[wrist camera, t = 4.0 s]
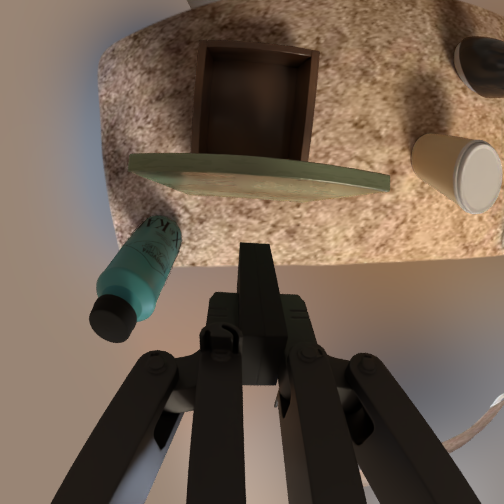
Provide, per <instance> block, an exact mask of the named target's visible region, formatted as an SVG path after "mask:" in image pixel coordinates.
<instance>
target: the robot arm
mask: <svg viewBox="0 0 504 504" xmlns="http://www.w3.org/2000/svg"><path fill="white" fill-rule="evenodd" d="M199 336H200V349H199V350H198V351H197V352H196V353H194V354H192V355H189V356H185V357H179V358H174V357H173V356H172V355H171V354H169V353H168V352H166V351H160V350H155V351H149V352H147V353H145V354H143V355H142V356H141V357H140V358H139V359H138V361H137V362H136V364H135V366H134V367H133V368H132V370H131V372H130V373H129V374H128V376H127V378H126V379H125V381H124V382H123V384H122V385H121V387H120V388H119V390H118V392H117V393H116V395H115V397H114V398H113V399H112V401H111V402H110V404H109V406H108V407H107V409H106V410H105V412H104V414H103V415H102V417H101V418H100V420H99V422H98V423H97V425H96V427H95V428H94V430H93V432H92V433H91V435H90V436H89V438H88V440H87V441H86V443H85V445H84V446H83V448H82V450H81V451H80V453H79V455H78V456H77V458H76V460H75V461H74V463H73V465H72V467H71V468H70V470H69V472H68V474H67V475H66V477H65V479H64V481H63V483H62V484H61V486H60V488H59V489H58V491H57V493H56V495H55V497H54V499H53V500H52V502H51V504H144V503H145V500H146V498H147V496H148V494H149V491H150V489H151V487H152V485H153V482H154V480H155V478H156V476H157V473H158V471H159V469H160V466H161V464H162V462H163V460H164V457H165V455H166V453H167V451H168V449H169V446H170V444H171V442H172V439H173V437H174V435H175V433H176V430H177V428H178V426H179V423H180V421H181V419H182V417H183V414H184V412H188V411H193V410H194V413H193V423H192V434H191V445H190V457H189V469H188V484H187V499H186V504H246V489H245V461H244V430H243V392H242V385H276V383H277V380H278V383H279V390H278V394H277V397H276V401H275V405H274V407H277V406H278V409H279V418H280V427H281V436H282V445H283V453H284V463H285V472H286V481H287V490H288V501H289V504H367V502H366V498H365V493H364V489H363V484H362V480H361V476H360V472H359V468H358V465H359V466H360V468H361V470H362V472H363V474H364V476H365V477H366V479H367V481H368V483H369V485H370V486H371V488H372V490H373V491H374V493H375V495H376V497H377V499H378V501H379V502H380V504H481V502H480V501H479V499H478V498H477V496H476V495H475V493H474V491H473V490H472V488H471V487H470V485H469V484H468V482H467V480H466V479H465V477H464V476H463V474H462V473H461V471H460V470H459V468H458V467H457V466H456V464H455V462H454V461H453V459H452V458H451V456H450V455H449V453H448V452H447V450H446V449H445V448H444V446H443V445H442V443H441V442H440V440H439V439H438V438H437V436H436V435H435V433H434V432H433V430H432V429H431V428H430V426H429V425H428V424H427V422H426V421H425V419H424V418H423V416H422V415H421V414H420V412H419V411H418V409H417V408H416V407H415V405H414V404H413V403H412V401H411V400H410V399H409V397H408V396H407V394H406V393H405V392H404V390H403V389H402V388H401V386H400V385H399V384H398V382H397V381H396V380H395V378H394V377H393V376H392V375H391V373H390V372H389V370H388V369H387V368H386V367H385V365H384V364H383V363H382V361H381V360H380V359H379V358H377V357H376V356H374V355H372V354H368V353H358V354H356V355H354V356H353V357H352V358H351V360H350V361H348V360H343V359H338V358H334V357H331V356H329V355H327V354H326V352H325V350H324V349H323V348H322V347H321V346H320V345H318V344H317V341H316V338H315V334H314V331H313V328H312V325H311V321H310V319H309V315H308V312H307V308H306V305H305V302H304V301H303V300H302V299H301V298H300V296H299V295H293V294H292V295H291V294H280V292H279V287H278V283H277V278H276V273H275V268H274V263H273V258H272V254H271V249H270V244H259V243H242V242H240V251H239V265H238V281H237V293H226V292H215V293H214V295H213V296H212V297H211V298H210V300H209V309H208V316H207V323H206V326H205V327H204V328H203V329H202V330H201V332H200V335H199ZM357 463H358V464H357Z"/></svg>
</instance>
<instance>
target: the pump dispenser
mask: <svg viewBox="0 0 504 504" xmlns="http://www.w3.org/2000/svg"><path fill="white" fill-rule="evenodd" d="M454 63H455V67H456V70H457V73H458V75H459V77H460V78H461V80H462V81H463V82H464V84H465V85H466V86H467V87H468V88H470V89H471V90H472V91H474V92H476V93H477V94H479V95H480V96H482V97H485V98H504V41H501V40H498V39H494V38H490V37H481V36H471V37H466V38H464V39H463V40H462V42H460V43H459V44H458V46H457V47H456V49H455V53H454Z"/></svg>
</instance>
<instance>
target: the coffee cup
mask: <svg viewBox="0 0 504 504" xmlns="http://www.w3.org/2000/svg"><path fill="white" fill-rule="evenodd" d="M411 161H412V167H413V170H414V172H415V174H416V175H417V176H418V178H419V179H421V180H422V181H423V182H425V183H426V184H428V185H429V186H431V187H433V188H434V189H436V190H437V191H439V192H440V193H441V194H443V195H444V196H446V197H447V198H449V199H450V200H452V201H453V202H455V203H456V204H457V205H459V206H460V207H461V208H462V209H463V210H464V211H466V212H468V213H470V214H481V213H484V212H486V211H487V210H488V209H489V208H490V207H491V206H492V205H493V204H494V202H495V201H496V199H497V197H498V195H499V192H500V188H501V184H502V166H501V161H500V158H499V156H498V154H497V152H496V151H495V149H494V148H493V147H492V146H491V145H490V144H489V143H487V142H485V141H483V140H473V139H468V138H462V137H455V136H448V135H440V134H425V135H423V136H421V137H420V138H419V139H418V140H417V141H416V143H415V144H414V147H413V149H412V155H411Z"/></svg>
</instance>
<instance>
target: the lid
mask: <svg viewBox="0 0 504 504" xmlns="http://www.w3.org/2000/svg"><path fill="white" fill-rule="evenodd" d="M128 171H129V172H131V173H134V174H136V175H139V176H142V177H144V178H147V179H149V180H152V181H155V182H157V183H160V184H162V185H165V186H167V187H170V188H172V189H175V190H177V191H180V192H183V193H185V194H188V195H197V196H218V197H236V198H252V199H266V200H278V201H290V202H301V203H305V202H312V201H319V200H326V199H334V198H342V197H349V196H358V195H366V194H375V193H384V192H389V191H390V176H389V175H386V174H381V173H375V172H370V171H365V170H359V169H353V168H347V167H341V166H335V165H328V164H321V163H313V162H306V161H297V160H288V159H279V158H268V157H256V156H243V155H226V154H201V153H139V154H130V155H129V164H128Z"/></svg>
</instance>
